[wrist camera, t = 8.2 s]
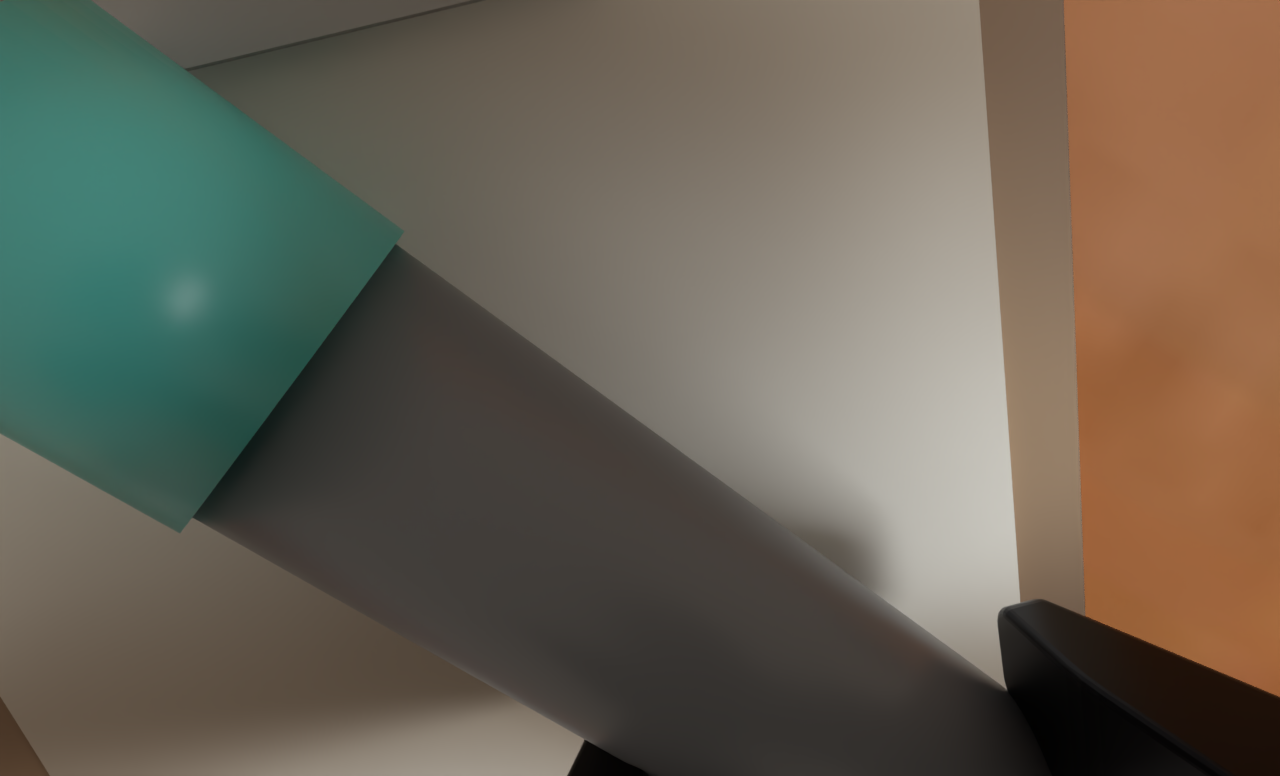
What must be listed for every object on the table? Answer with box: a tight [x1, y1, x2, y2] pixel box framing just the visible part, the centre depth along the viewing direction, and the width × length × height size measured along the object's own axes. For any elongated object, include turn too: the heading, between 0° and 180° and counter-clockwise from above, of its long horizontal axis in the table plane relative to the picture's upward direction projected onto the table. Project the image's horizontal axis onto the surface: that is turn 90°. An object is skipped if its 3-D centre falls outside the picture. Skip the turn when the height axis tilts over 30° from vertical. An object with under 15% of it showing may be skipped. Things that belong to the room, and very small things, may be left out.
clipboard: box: [0, 0, 1085, 776], centre depth 9 cm, size 16×12×1 cm
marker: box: [0, 0, 1052, 776], centre depth 8 cm, size 16×3×3 cm, turn 50°
